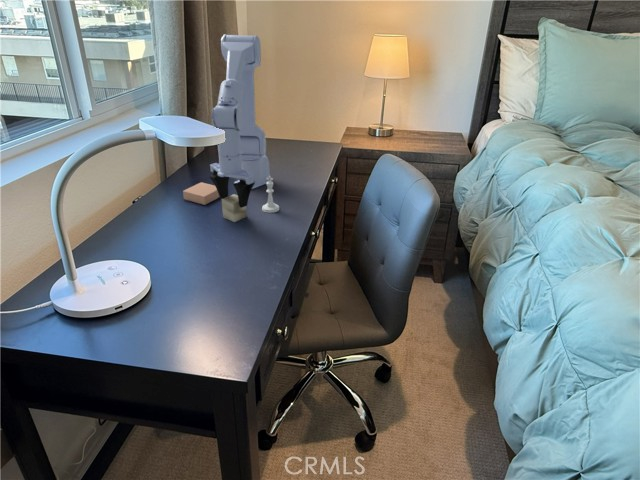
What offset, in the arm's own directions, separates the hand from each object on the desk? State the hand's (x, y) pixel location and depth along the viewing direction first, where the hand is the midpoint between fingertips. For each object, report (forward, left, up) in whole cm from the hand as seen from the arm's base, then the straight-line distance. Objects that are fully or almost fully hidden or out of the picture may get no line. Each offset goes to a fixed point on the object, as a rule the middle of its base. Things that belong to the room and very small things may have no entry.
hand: (233, 202), depth 120 cm
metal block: (0, 0, -5) cm, 5 cm away
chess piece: (-10, +4, -5) cm, 12 cm away
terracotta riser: (-3, -17, -5) cm, 18 cm away
